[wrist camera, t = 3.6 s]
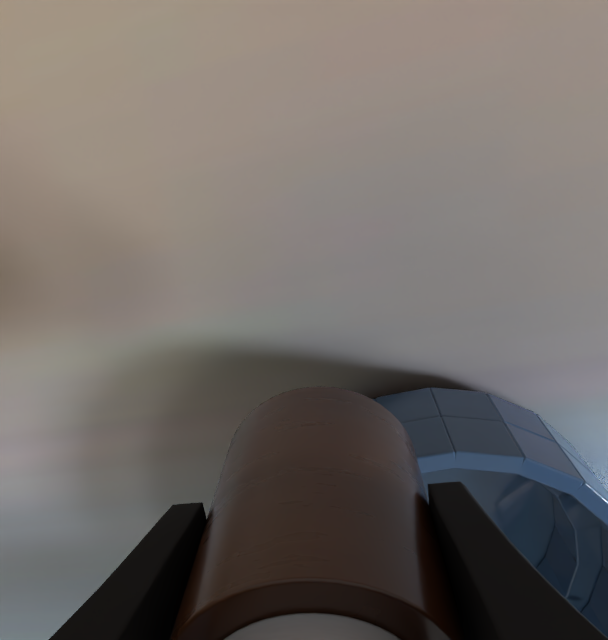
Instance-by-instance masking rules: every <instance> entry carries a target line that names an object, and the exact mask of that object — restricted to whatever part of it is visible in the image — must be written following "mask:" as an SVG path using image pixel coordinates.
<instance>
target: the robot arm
mask: <svg viewBox="0 0 608 640" xmlns="http://www.w3.org/2000/svg"><path fill="white" fill-rule="evenodd" d="M428 497H429V507H430V511H431V515H432V519H433V522H434V526H435V530H436V534H437V537H438V541H439V545H440V549H441V552H442V555H443V559H444V562H445V566H446V569H447V573H448V577H449V581H450V584H451V588H452V592H453V596H454V599H455V603H456V607H457V611H458V614H459V618H460V622H461V625H462V629H463V633H464V637H465V640H608V637H607V636H605V635H604V634H603V633H602V632H601V631H600V630H599V629H598V628H597V627H595V626H594V625H593V624H592V623H591V622H590V621H589V620H588V619H587V618H586V617H585V616H584V615H582V614H581V613H580V612H579V611H578V610H577V609H576V608H575V607H574V606H573V605H572V604H571V603H570V602H569V601H568V600H567V599H566V598H565V597H564V596H563V595H562V594H561V593H560V592H559V591H558V590H557V589H555V588H554V587H553V586H552V585H551V583H550V582H549V581H548V580H547V579H546V578H545V577H544V576H543V575H542V574H541V573H540V572H539V571H538V570H537V569H536V568H535V567H534V566H533V565H532V564H531V563H530V562H529V560H528V559H527V558H526V557H525V556H524V555H523V554H522V553H521V552H520V551H519V550H518V549H517V548H516V546H515V545H514V544H513V543H512V542H511V541H510V540H509V539H508V538H507V536H506V535H505V534H504V533H503V532H502V531H501V529H500V528H499V527H498V526H497V525H496V524H495V522H494V521H493V520H492V519H491V518H490V516H489V515H488V514H487V513H486V512H485V510H484V509H483V508H482V507H481V505H480V504H479V503H478V501H477V500H476V499H475V498H474V496H473V495H472V494H471V492H470V491H469V490H468V488H467V487H466V486H465V485H464V484H463V483H462V482H460V481H458V482H445V483H433V484H428ZM206 521H207V519H206V515H205V511H204V507H203V503H190V504H178V505H172V507H171V508H170V509H169V510H168V511H167V512H166V513H165V514H164V515H163V516H162V518H161V519H160V520H159V521H158V522H157V523H156V524H155V526H154V527H153V528H152V529H151V530H150V531H149V532H148V534H147V535H146V536H145V537H144V538H143V539H142V541H141V542H140V543H139V544H138V545H137V546H136V547H135V549H134V550H133V551H132V552H131V553H130V554H129V555H128V556H127V558H126V559H125V560H124V561H123V562H122V563H121V564H120V565H119V567H118V568H117V569H116V570H115V571H114V572H113V573H112V574H111V575H110V577H109V578H108V579H107V580H106V581H105V582H104V583H103V584H102V585H101V586H100V588H99V589H98V590H97V591H96V592H95V593H94V594H93V595H92V596H91V597H90V598H89V599H88V600H87V601H86V602H85V603H84V604H83V605H82V606H81V607H80V608H79V609H78V610H77V611H76V612H75V613H74V614H73V615H72V616H71V617H70V618H69V619H68V620H67V622H66V623H65V624H64V625H63V626H62V627H61V628H60V629H59V630H58V631H57V632H56V633H55V634H54V635H53V636H52V637H51V638H50V639H49V640H170V637H171V633H172V630H173V627H174V624H175V621H176V617H177V614H178V611H179V608H180V605H181V601H182V598H183V595H184V592H185V589H186V585H187V582H188V579H189V576H190V572H191V569H192V566H193V563H194V560H195V556H196V553H197V550H198V547H199V544H200V540H201V537H202V534H203V531H204V528H205V524H206Z"/></svg>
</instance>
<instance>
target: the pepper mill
mask: <svg viewBox="0 0 608 640" xmlns="http://www.w3.org/2000/svg"><path fill="white" fill-rule="evenodd" d="M170 640H465V637H464V633H463V629H462V625H461V622H460V618H459V614H458V611H457V607H456V603H455V599H454V596H453V592H452V588H451V584H450V581H449V577H448V573H447V569H446V566H445V562H444V559H443V555H442V552H441V549H440V545H439V541H438V537H437V534H436V530H435V526H434V522H433V519H432V515H431V511H430V507H429V502H428V498H427V494H426V491H425V487H424V483H423V479H422V476H421V472H420V468H419V464H418V461H417V457H416V453H415V450H414V447H413V444H412V441H411V439H410V437H409V435H408V433H407V431H406V430H405V428H404V427H403V426H402V424H401V423H400V422H399V420H398V419H397V418H396V417H395V416H394V415H393V414H392V413H391V412H389V411H388V410H387V409H386V408H384V407H383V406H382V405H380V404H379V403H377V402H375V401H374V400H372V399H370V398H368V397H366V396H364V395H361V394H359V393H356V392H353V391H349V390H346V389H340V388H335V387H321V386H320V387H306V388H300V389H295V390H291V391H288V392H284V393H282V394H279V395H277V396H275V397H273V398H271V399H269V400H267V401H266V402H264V403H262V404H261V405H259V406H258V407H257V408H256V409H254V410H253V411H252V412H251V413H250V414H249V415H248V416H247V417H246V418H245V419H244V420H243V422H242V423H241V424H240V426H239V427H238V429H237V430H236V432H235V434H234V436H233V438H232V441H231V444H230V447H229V450H228V454H227V457H226V460H225V463H224V466H223V470H222V473H221V476H220V479H219V483H218V486H217V489H216V492H215V495H214V499H213V502H212V505H211V508H210V511H209V515H208V518H207V521H206V524H205V528H204V531H203V534H202V537H201V540H200V544H199V547H198V550H197V553H196V556H195V560H194V563H193V566H192V569H191V572H190V576H189V579H188V582H187V585H186V589H185V592H184V595H183V598H182V601H181V605H180V608H179V611H178V614H177V617H176V621H175V624H174V627H173V630H172V633H171V637H170Z"/></svg>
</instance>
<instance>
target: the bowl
mask: <svg viewBox="0 0 608 640" xmlns="http://www.w3.org/2000/svg"><path fill="white" fill-rule="evenodd" d="M372 400H374V401H375V402H377V403H379V404H380V405H382V406H383V407H384V408H386V409H387V410H388V411H389V412H391V413H392V414H393V415H394V416H395V417H396V418H397V419H398V420H399V422H400V423H401V424H402V426H403V427H404V428H405V430H406V431H407V433H408V435H409V437H410V439H411V441H412V444H413V447H414V450H415V453H416V457H417V461H418V464H419V468H420V472H421V476H422V479H423V483H424V487H425V491H426V494H427V498H428V502H429V497H428V484H433V483H445V482H458V481H460V482H462V483H463V484H464V485H465V486H466V487H467V488H468V490H469V491H470V492H471V494H472V495H473V496H474V498H475V499H476V500H477V501H478V503H479V504H480V505H481V507H482V508H483V509H484V510H485V512H486V513H487V514H488V515H489V516H490V518H491V519H492V520H493V521H494V522H495V524H496V525H497V526H498V527H499V528H500V529H501V531H502V532H503V533H504V534H505V535H506V536H507V538H508V539H509V540H510V541H511V542H512V543H513V544H514V545H515V546H516V548H517V549H518V550H519V551H520V552H521V553H522V554H523V555H524V556H525V557H526V558H527V559H528V560H529V562H530V563H531V564H532V565H533V566H534V567H535V568H536V569H537V570H538V571H539V572H540V573H541V574H542V575H543V576H544V577H545V578H546V579H547V580H548V581H549V582H550V583H551V585H552V586H553V587H554V588H555V589H557V590H558V591H559V592H560V593H561V594H562V595H563V596H564V597H565V598H566V599H567V600H568V601H569V602H570V603H571V604H572V605H573V606H574V607H575V608H576V609H577V610H578V611H579V612H580V613H581V614H582V615H584V616H585V617H586V618H587V619H588V620H589V621H590V622H591V623H592V624H593V625H594V626H595V627H597V628H598V629H599V630H600V631H601V632H602V633H603V634H604V635H605V636H607V637H608V491H607V490H606V489H605V487H604V486H603V485H602V483H601V482H600V481H599V480H598V478H597V477H596V476H595V474H594V473H593V472H592V470H591V469H590V468H589V466H588V465H587V464H586V463H585V461H584V460H583V459H582V457H581V456H580V455H579V453H578V452H577V451H576V450H575V448H574V447H573V446H572V445H571V443H570V442H569V441H567V440H566V439H565V438H564V437H563V436H562V435H561V434H559V433H558V432H557V431H556V430H555V429H554V428H553V427H551V426H550V425H549V424H548V423H547V422H546V421H545V420H543V419H542V418H541V417H540V416H539V415H538V414H535V413H534V412H533V411H530V410H528V409H525V408H523V407H520V406H518V405H515V404H513V403H511V402H508V401H506V400H503V399H501V398H498V397H496V396H493V395H491V394H488V393H485V392H478V391H467V390H456V389H445V388H434V387H431V388H424V389H418V390H413V391H407V392H402V393H397V394H391V395H386V396H381V397H377V398H376V399H375V398H374V399H372Z"/></svg>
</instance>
